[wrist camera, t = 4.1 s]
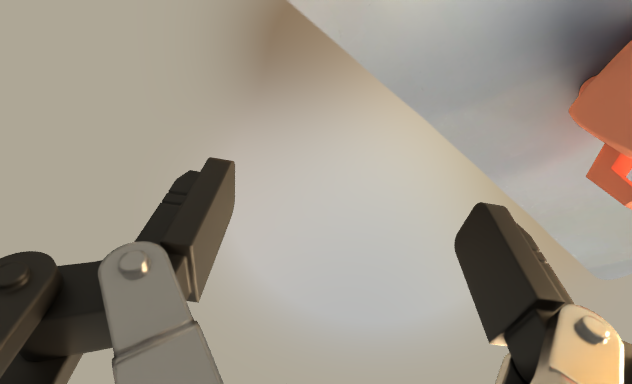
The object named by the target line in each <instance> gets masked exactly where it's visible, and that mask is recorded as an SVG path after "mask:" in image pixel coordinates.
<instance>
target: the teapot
mask: <svg viewBox="0 0 632 384" xmlns="http://www.w3.org/2000/svg"><path fill="white" fill-rule="evenodd" d="M569 113H570V115H571V117H572V118H573V120H574V121H575V122H576V123H577V124H578V125H579V126H580V127H582V128H583V129H585V130H586V131H588V132H589V133H591V134H592V135H594V136H595V137H597V138H598V139H600V140H601V141H603V142H604V143H605V144H604V146H603V147H602V149H601V151H600V153H599V154H598V156H597V158H596V160H595V161H594V163H593V165H592V167H591V168H590V170H589V172H588V173H587V175H586V177H587V178H588V179H590V180H591V181H592V182H594V183H595V184H596V185H598V186H599V187H600V188H602V189H603V190H604V191H606V192H607V193H608V194H610V195H611V196H612V197H614V198H615V199H616V200H618V201H619V202H620V203H622V204H623V205H624V206H626V207H628V208H630V209H631V210H632V182H631V181H630V180H628V179H627V178H626V176H627V175H628V173H629V172H630V170H631V168H632V40H631V41H630V42H629V43H628V44H627V45H626V46H625V47H624V48H623V49H622V50H621V51H620V52H619V53H618V54H617V55H616V56H615V57H614V58H613V59H612V60H611V61H610V62H609V63H608V64H607V65H606V67H605V68H604V69H603V70H602V71H601V72H600V73H599V74H598V75H597V76H594V77H591V78H590V79H588V80H587V81H586V82H585V83H584V84H583V85H582V86H581V88H580V91H579V96H578V98H577V99H576V100H575V101H574V103H573V104H572V105H571V107H570V109H569Z"/></svg>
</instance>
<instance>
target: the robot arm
mask: <svg viewBox="0 0 632 384" xmlns="http://www.w3.org/2000/svg"><path fill="white" fill-rule="evenodd" d="M234 202H235V164H234V161H229V160H223V159H217V158H208V160H207V161H206V163H205V165H204V167H203V168H202V170H201V172H197V171H191V170H190V171H188V172H187V173H185V174H184V175H182V176H181V177H179V178H177V180H176V181H175V182H174V184H173V185H172V187H171V188H170V190H169V193H167V194H166V196H165V197H164V199H163V200H162V203H160V205H159V206H158V208H157V209H156V211H155V212H154V214H153V215H152V216H151V218H150V220H149V221H148V222H147V224H146V226H145V227H144V229H143V230H142V231H141V233H140V235H139V236H138V238H137V239H136V240H135V242H132V243H128V244H125V245H123V246H120V247H118V248H117V249H115V250H113V251H112V252H111V253H110V254H108V255H107V256H106V257H105V258H104V259H103V260H102V261H97V262H89V263H81V264H72V265H64V266H56V264H55V262H54V260H53V259H52V258H51V257H50V256H49V255H47V254H45V253H41V252H33V251H31V252H30V251H29V252H20V253H15V254H12V255H8V256H5V257H3V258H0V384H67V382H68V380H69V378H70V377H71V375H72V373H73V371H74V369H75V368H76V366H77V364H78V362H79V360H80V358H81V357H82V355H83V353H87V352H92V351H98V350H102V349H108V348H113V351H114V358H113V359H112V368H113V375H114V380H115V384H223V381H222V379H221V376H220V374H219V371H218V369H217V366H216V364H215V361H214V359H213V357H212V354H211V351H210V349H209V347H208V344H207V342H206V339H205V337H204V334H203V332H202V330H201V328H200V326H199V324H198V322H197V321H194V319H193V317H192V315H191V312H190V310H189V307H188V305H187V302H186V301H192V302H199V300H200V297H201V295H202V292H203V289H204V287H205V284H206V281H207V279H208V276H209V274H210V271H211V269H212V266H213V263H214V261H215V258H216V255H217V253H218V250H219V247H220V245H221V242H222V240H223V237H224V235H225V232H226V229H227V227H228V224H229V222H230V219H231V216H232V213H233V208H234ZM455 252H456V255H457V258H458V260H459V263H460V266H461V268H462V271H463V274H464V277H465V279H466V281H467V284H468V287H469V290H470V293H471V295H472V298H473V301H474V303H475V306H476V309H477V311H478V314H479V317H480V319H481V322H482V325H483V327H484V330H485V333H486V336H487V338H488V341H489V344H494V345H502V346H507V347H508V349H509V353H508V354H507V355H506V356H505V357H504V359H503V362H502V365H501V368H500V371H499V374H498V376H497V380H496V383H495V384H632V344H629V343H627V342H625V341H622V340H621V338H620V336H619V335H618V333H617V332H616V331H615V330H614V329H613V327H612V326H611V325H610V324H609V323H608V322H607V321H605V320H604V319H603V318H602V317H600V316H599V315H598V314H596V313H595V312H593V311H591V310H589V309H587V308H585V307H582V306H579V305H575V304H574V302H573V301H572V299H571V298H570V296H569V295H568V293H567V291H566V290H565V288H564V287H563V285H562V284H561V282H560V281H559V280H558V278H557V276H556V274H555V273H554V271H553V270H552V268H551V267H550V265H549V264H547V263H546V259H545V257H544V256H543V254H542V253H541V252H539V248H538V247H537V245H536V243H535V242H534V240H533V239H532V237H531V236H530V235H529V234H528V233H527V232H526V231H525V230H524V229H523V228H521V227H520V226H519V225H518V224H516V222H515V221H514V219H513V218H512V216H511V215H510V213H509V211H508V210H507V208H506V207H504V206H500V205H494V204H488V203H482V202H480V203H478V204H476V205H475V206H474V208H473V210H472V211H471V213H470V214H469V216H468V217H467V219H466V220H465V222H464V224H463V225H462V227H461V228H460V230H459V232H458V233H457V235H456V238H455Z"/></svg>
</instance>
